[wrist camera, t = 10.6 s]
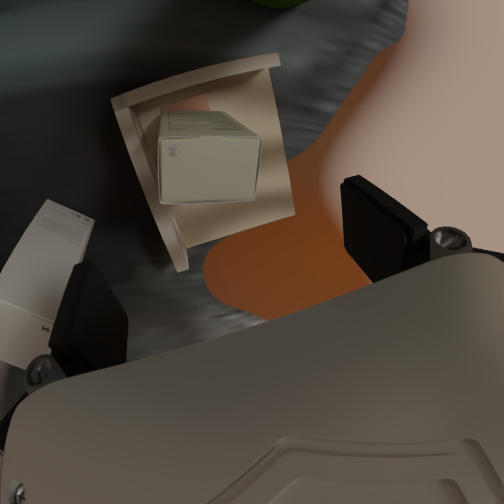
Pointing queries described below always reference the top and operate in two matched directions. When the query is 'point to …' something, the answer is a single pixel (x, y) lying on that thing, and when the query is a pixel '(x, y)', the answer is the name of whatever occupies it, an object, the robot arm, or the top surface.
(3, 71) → the top surface
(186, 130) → the skincare box
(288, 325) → the robot arm
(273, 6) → the wine bottle
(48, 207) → the skincare box
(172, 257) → the tray
